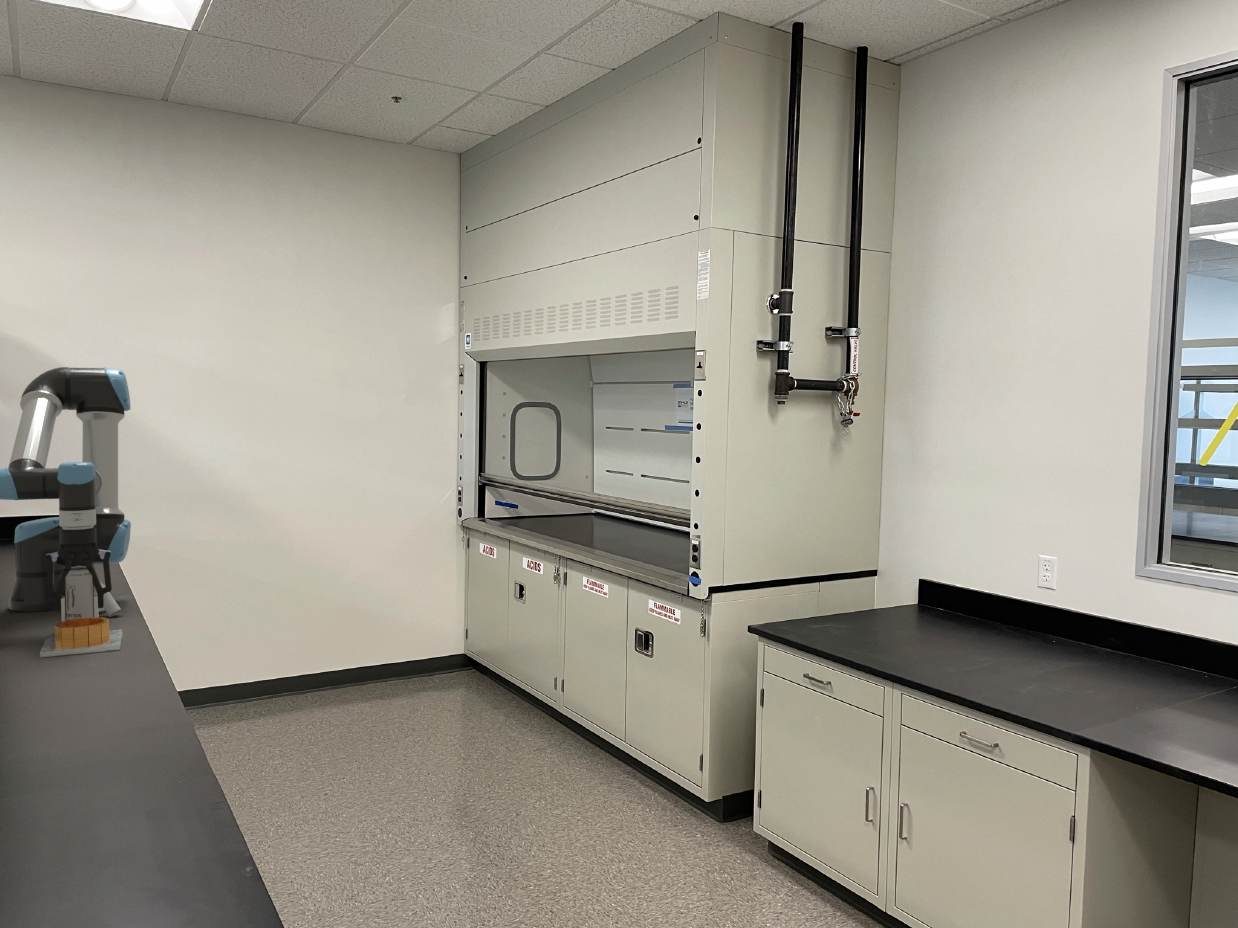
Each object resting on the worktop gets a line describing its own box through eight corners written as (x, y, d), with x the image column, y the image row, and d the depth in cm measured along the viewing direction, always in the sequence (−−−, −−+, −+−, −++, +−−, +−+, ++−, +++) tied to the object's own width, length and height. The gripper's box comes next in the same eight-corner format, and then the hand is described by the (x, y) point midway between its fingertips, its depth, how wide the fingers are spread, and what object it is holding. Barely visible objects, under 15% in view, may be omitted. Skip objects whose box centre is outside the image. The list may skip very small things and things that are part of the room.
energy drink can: (60, 632, 216) (58, 569, 215) (83, 626, 221) (81, 565, 220) (78, 634, 213) (76, 571, 212) (101, 629, 219) (99, 567, 218)
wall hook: (108, 618, 228) (99, 579, 227) (74, 625, 230) (65, 586, 230) (131, 611, 236) (123, 573, 235) (98, 618, 238) (90, 580, 238)
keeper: (47, 640, 208) (47, 618, 208) (122, 634, 215) (121, 612, 214) (40, 657, 195) (39, 633, 194) (119, 649, 201) (119, 626, 201)
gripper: (28, 531, 208) (31, 630, 210) (122, 527, 217) (125, 622, 218) (32, 527, 215) (35, 623, 216) (124, 523, 223) (126, 615, 225)
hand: (80, 622), depth 217 cm, fingers closed on energy drink can, 6 cm apart
